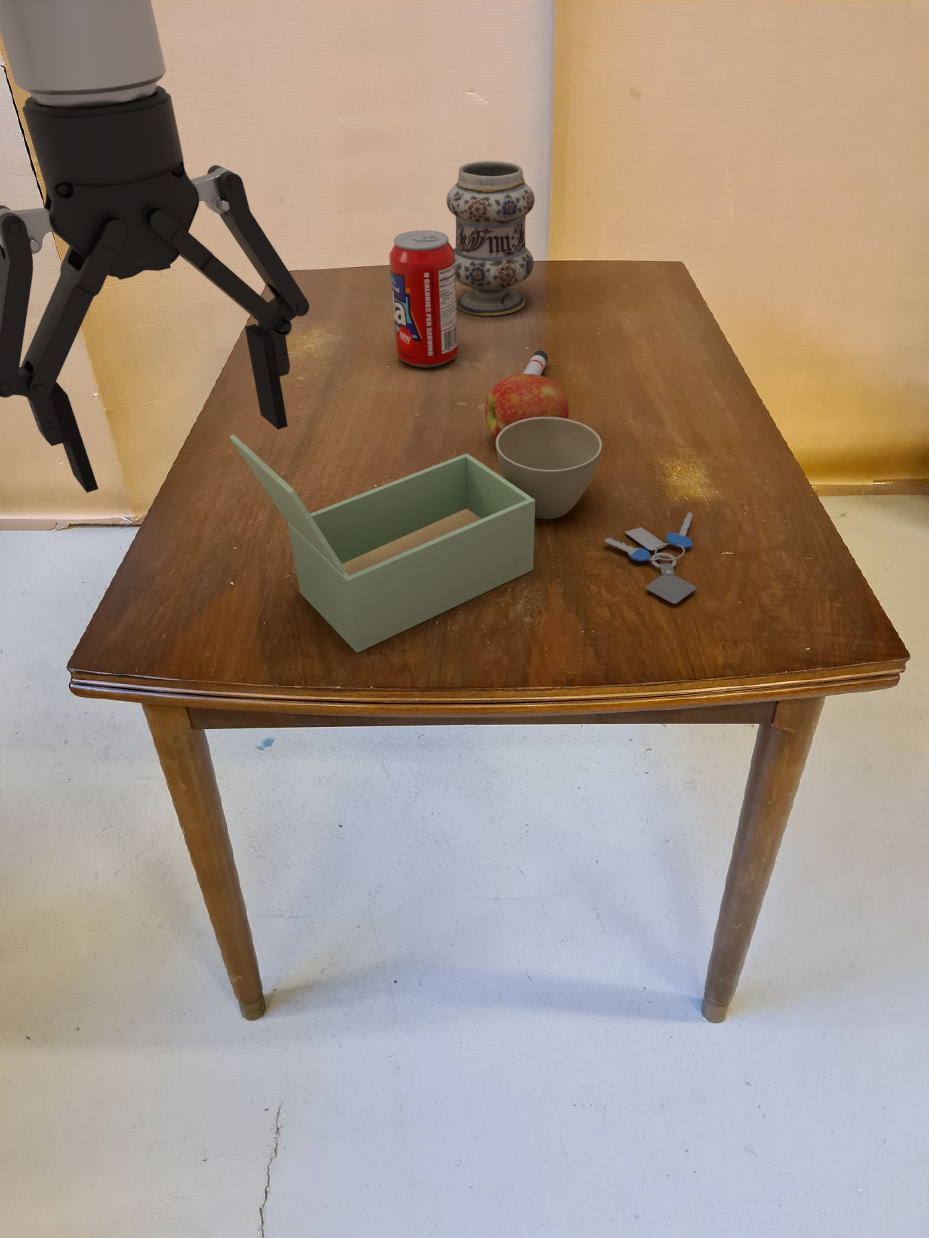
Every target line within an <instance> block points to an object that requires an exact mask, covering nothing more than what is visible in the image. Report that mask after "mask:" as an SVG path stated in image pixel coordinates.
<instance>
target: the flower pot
mask: <svg viewBox="0 0 929 1238" xmlns="http://www.w3.org/2000/svg"><path fill="white" fill-rule="evenodd" d="M602 449H603V442H602V439H601V437H600V435H599V434H598V433H597V432H596V431H595V430H594V429H593V428H591V427H590V426H588V425H586V424H584V423H581V422H580V421H576V420H573V419H569V418H568V419H565V418H558V417H534V418H528V419H524V420H520V421H517V422H515V423H512V424H510V425H509V426H507V427H505V428H504V429H503V430H502V431H501V432H500V433H499V434H498V436H497V438H496V440H495V450H496V457H497V461H498V465H499V470H500V472H501V476H502V477H503V478H504V479H505V480H507V481H508V482H510V483H511V484H513V485H514V486H516V487H517V488H519V489H520V490H521V491H523V492H524V493H526V494H527V495H529V496H530V497H531V498H533V499H535V519H538V520H539V519H540V520H553V519H558V518H561V517H564V516H565V515H567V514H568V513H569V512H571V510H572V509H573V508H574V507H575V505H576V504H577V503H578V502H579V501H580V500H581V498H582V496H583V495H584V494H585V491H586V490H587V488H588V487H589V485H590V483H591V481H592V479H593V478H594V474H595V472H596V471H597V467H598V464H599V461H600V458H601V455H602Z"/></svg>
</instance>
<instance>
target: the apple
mask: <svg viewBox="0 0 929 1238" xmlns="http://www.w3.org/2000/svg"><path fill="white" fill-rule="evenodd" d="M569 411H570V410H569V401H568V398H567V396H566V394H565V392H564V390H563V388H562V387H561V386H560V385H559V384H558V383H556V382H555V381H553V380H552V379H550V378H548V377H546V376H543V375H535V374H523V373H521V374H514V375H511V376H509V377H506V378H505V377H504V378H503V379H501V380H500V381H498V382H497V384H495V385H493V387H492V388H491V389H490V391H488V395H487V397H486V401H485V404H484V416H485V422H486V425H487V427H488V430H489V432H490V434H491V436H492V437H493V439H494V440H495V441H496V438H497V436H498V434H499V433H500V432H501V431H502V430H503V429H504V428H505V427H507V426H509V425H510V424H512V423H515V422H517V421H520V420H524V419H528V418H534V417H558V418H565V419H569Z"/></svg>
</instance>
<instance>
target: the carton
mask: <svg viewBox="0 0 929 1238" xmlns="http://www.w3.org/2000/svg"><path fill="white" fill-rule="evenodd" d="M464 509H468V510H470V511H471V512H473V513H474V514H476V515H477V516H478V517H480V518H481V520H478V521H476V522H474V523H471V524H469V525H467V526H464V527H462V528H460V529H457V530H455V531H453V532H450V533H448V534H446V535H443V536H441V537H439V538H436V539H434V540H432V541H429V542H427V543H425V544H422V545H420V546H418V547H415V548H413V549H411V550H408V551H406V552H404V553H401V554H399V555H397V556H394V557H392V558H390V559H387V560H385V561H383V562H380V563H378V564H376V565H373V566H371V567H369V568H366V569H364V570H362V571H359V572H357V573H355V574H352V575H350V576H349V575H348V574H347V573H345V574H344V575H342V574H341V573H340V572H339V571H338V570H337V569H336V568H335V567H334V566H333V565H332V564H331V563H330V562H329V561H328V560H327V559H326V558H325V557H324V556H323V555H322V554H321V553H320V552H319V551H318V550H317V549H316V548H315V547H314V546H313V545H311V544H310V543H309V542H308V541H307V540H306V539H305V538H304V537H303V536H302V535H301V534H300V533H299V532H298V531H297V530H296V529H295V528H294V527H293V526H292V525H291V524H290V523H289V522H288V521H287V523H286V525H287V530H288V536H289V540H290V541H289V542H290V546H291V551H292V557H293V563H294V568H295V575H296V579H297V585H298V590H299V594H301V595H302V597H304V599H305V600H306V601H307V602H308V603H309V604H310V605H311V606H312V607H313V608H314V609H315V611H317V612H318V614H319V615H320V616H321V617H322V618H323V619H324V620H325V621H326V623H328V624H329V625H330V626H331V627H332V629H334V631H336V633H337V634H338V635H339V636H340V637H341V638H342V639H343V640H344V641H345V642H346V643H347V644H348V645H349V647H350V648H352V650H353V651H354V652H355V653H356V654H358V653H361V652H363V651H364V650H367V649H368V648H370V647H373V646H375V645H377V644H379V643H381V642H384V641H385V640H388V639H390V638H392V637H394V636H396V635H398V634H400V633H403V632H404V631H407V630H408V629H411V628H413V627H415V626H417V625H419V624H422V623H424V622H426V621H428V620H430V619H432V618H435V617H436V616H439V615H441V614H442V613H445V612H447V611H449V610H451V609H453V608H455V607H457V606H460V605H462V604H464V603H466V602H468V601H470V600H472V599H475V598H476V597H479V596H481V595H483V594H486V593H487V592H489V591H491V590H493V589H496V588H498V587H500V586H502V585H503V584H506V583H508V582H511V581H512V580H515V579H517V578H519V577H521V576H523V575H526V574H527V573H529V572H531V571H533V570H534V555H535V553H534V551H535V525H536V524H535V523H536V522H535V519H536V518H535V499H533V498H531V497H530V496H529V495H527V494H526V493H524V492H523V491H521V490H520V489H519V488H517V487H516V486H514V485H513V484H511V483H510V482H508V481H507V480H505V479H504V478H503V476H502V475H500V474H498V473H497V472H496V471H494V470H493V469H491V468H489V467H488V466H486V465H485V464H483V463H482V462H481V461H479V460H478V459H476V458H475V457H473V456H472V455H471V454H469V453H464V454H461V455H459V456H456V457H453V458H450V459H447V460H445V461H442V462H440V463H438V464H435V465H433V466H430V467H427V468H425V469H422V470H420V471H417V472H414V473H411V474H409V475H407V476H403V477H401V478H399V479H396V480H393V481H390V482H388V483H386V484H383V485H381V486H378V487H376V488H373V489H371V490H367V491H365V492H362V493H360V494H358V495H355V496H352V497H350V498H347V499H344V500H342V501H339V502H337V503H335V504H332V505H329V506H325V507H324V508H321V509H319V510H316V511H314V512H311V513H309V514H310V515H311V517H312V518H313V520H314V522H315V523H316V525H317V526H318V528H319V529H320V531H321V532H322V534H323V536H324V537H325V539H326V540H327V542H328V543H329V545H330V546H331V548H332V550H333V551H334V553H335V554H336V556H337V557H338V559H339V560H340V562H341V563H342V564H343V563H345V562H348V561H350V560H352V559H354V558H357V557H359V556H361V555H363V554H366V553H368V552H370V551H372V550H375V549H377V548H379V547H381V546H384V545H386V544H388V543H390V542H392V541H395V540H397V539H399V538H401V537H404V536H406V535H408V534H410V533H413V532H415V531H417V530H419V529H422V528H424V527H426V526H428V525H431V524H433V523H435V522H437V521H440V520H442V519H444V518H446V517H449V516H451V515H453V514H455V513H458V512H460V511H462V510H464Z"/></svg>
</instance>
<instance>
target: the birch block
mask: <svg viewBox="0 0 929 1238" xmlns="http://www.w3.org/2000/svg"><path fill="white" fill-rule="evenodd" d="M478 520H481V518H480V517H478V516H477V515H476V514H474V513H473V512H471V511H470V510H468V509H464V510H462V511H460V512H458V513H455V514H453V515H451V516H449V517H446V518H444V519H442V520H440V521H437V522H435V523H433V524H431V525H428V526H426V527H424V528H422V529H419V530H417V531H415V532H413V533H410V534H408V535H406V536H404V537H401V538H399V539H397V540H395V541H392V542H390V543H388V544H386V545H384V546H381V547H379V548H377V549H375V550H372V551H370V552H368V553H366V554H363V555H361V556H359V557H357V558H354V559H352V560H350V561H348V562H345V563H343V564H342V565H343V567H344V568H345V570H346V571H347V574H348V575H349V576H350V575H352V574H355V573H357V572H359V571H362V570H364V569H366V568H369V567H371V566H373V565H376V564H378V563H380V562H383V561H385V560H387V559H390V558H392V557H394V556H397V555H399V554H401V553H404V552H406V551H408V550H411V549H413V548H415V547H418V546H420V545H422V544H425V543H427V542H429V541H432V540H434V539H436V538H439V537H441V536H443V535H446V534H448V533H450V532H453V531H455V530H457V529H460V528H462V527H464V526H467V525H469V524H471V523H474V522H476V521H478Z"/></svg>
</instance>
